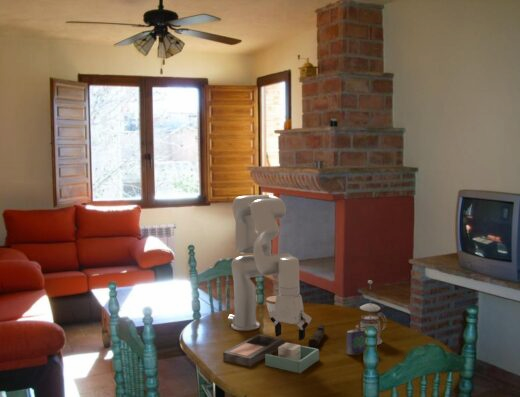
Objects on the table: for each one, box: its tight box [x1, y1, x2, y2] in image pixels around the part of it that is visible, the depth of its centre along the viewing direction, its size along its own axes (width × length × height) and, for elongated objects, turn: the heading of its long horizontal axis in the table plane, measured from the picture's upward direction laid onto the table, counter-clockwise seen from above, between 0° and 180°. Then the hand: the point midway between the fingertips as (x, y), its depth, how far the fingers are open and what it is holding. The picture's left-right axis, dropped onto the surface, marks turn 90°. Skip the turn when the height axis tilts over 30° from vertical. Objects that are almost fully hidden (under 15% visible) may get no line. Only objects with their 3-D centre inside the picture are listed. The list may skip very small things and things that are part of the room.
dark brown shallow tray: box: [222, 333, 285, 367], centre depth 210 cm, size 12×24×3 cm, turn 148°
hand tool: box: [307, 324, 325, 349], centre depth 223 cm, size 19×4×5 cm, turn 159°
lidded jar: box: [265, 294, 277, 317], centre depth 260 cm, size 11×11×9 cm
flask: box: [346, 324, 366, 356], centre depth 208 cm, size 9×3×11 cm, turn 109°
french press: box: [359, 279, 387, 346], centre depth 220 cm, size 10×12×25 cm
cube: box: [277, 342, 302, 361], centre depth 200 cm, size 6×6×6 cm
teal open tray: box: [264, 342, 320, 374], centre depth 200 cm, size 14×15×4 cm
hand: (290, 337), depth 199 cm, fingers open, 9 cm apart
